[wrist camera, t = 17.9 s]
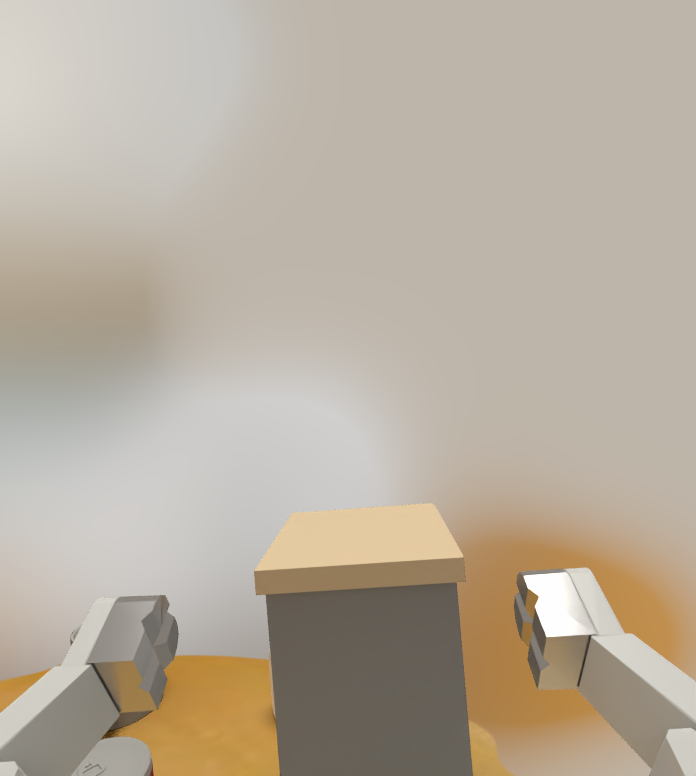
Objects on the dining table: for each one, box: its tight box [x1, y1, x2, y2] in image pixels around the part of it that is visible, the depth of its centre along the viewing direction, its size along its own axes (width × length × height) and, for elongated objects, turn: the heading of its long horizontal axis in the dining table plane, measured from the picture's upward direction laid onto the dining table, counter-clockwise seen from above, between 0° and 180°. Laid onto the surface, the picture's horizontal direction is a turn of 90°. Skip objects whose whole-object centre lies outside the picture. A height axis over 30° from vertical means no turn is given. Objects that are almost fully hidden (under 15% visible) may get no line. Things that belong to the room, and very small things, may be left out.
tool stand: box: [254, 503, 473, 776], centre depth 38 cm, size 15×13×26 cm
